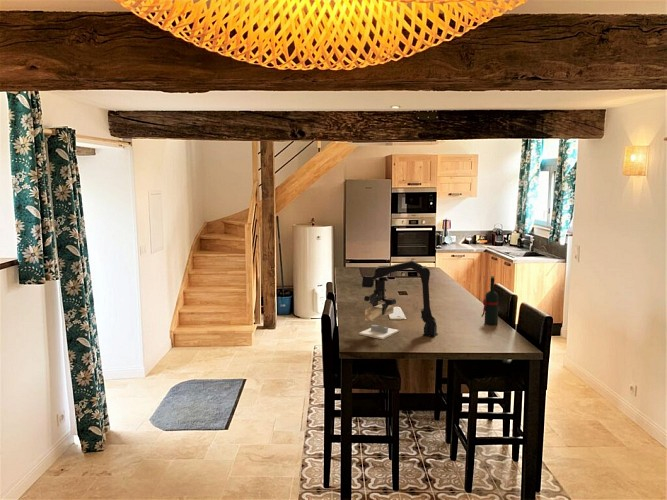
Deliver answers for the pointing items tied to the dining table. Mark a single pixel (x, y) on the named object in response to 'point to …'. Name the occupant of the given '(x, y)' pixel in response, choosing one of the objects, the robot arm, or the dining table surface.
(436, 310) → the dining table surface
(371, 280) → the robot arm
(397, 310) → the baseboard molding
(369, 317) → the birch bar
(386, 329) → the ridge stand
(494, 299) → the wine bottle
